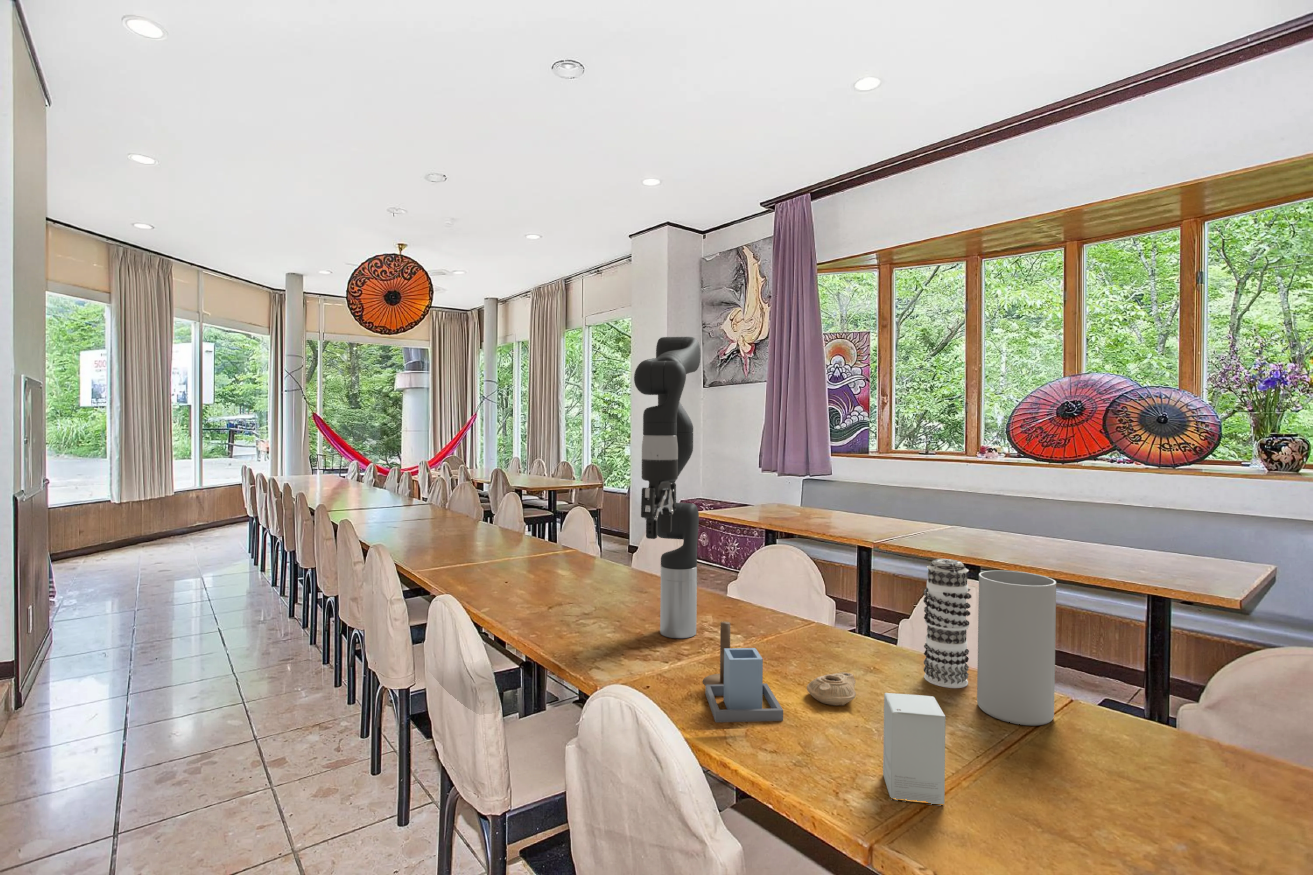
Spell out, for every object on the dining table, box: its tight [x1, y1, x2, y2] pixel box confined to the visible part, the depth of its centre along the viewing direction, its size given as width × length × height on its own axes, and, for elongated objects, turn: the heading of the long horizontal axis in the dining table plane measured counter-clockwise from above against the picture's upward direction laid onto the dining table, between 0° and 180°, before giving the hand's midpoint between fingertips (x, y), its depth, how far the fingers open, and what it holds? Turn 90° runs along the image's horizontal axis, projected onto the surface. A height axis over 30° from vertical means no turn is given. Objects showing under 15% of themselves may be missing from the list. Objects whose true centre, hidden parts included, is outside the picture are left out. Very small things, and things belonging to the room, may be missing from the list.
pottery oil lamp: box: [806, 671, 857, 707], centre depth 124 cm, size 9×12×7 cm
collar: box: [723, 647, 764, 710], centre depth 119 cm, size 6×6×10 cm
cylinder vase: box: [976, 570, 1057, 727], centre depth 120 cm, size 12×12×25 cm
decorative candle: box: [923, 558, 972, 689], centre depth 135 cm, size 9×9×25 cm
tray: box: [704, 682, 784, 723], centre depth 119 cm, size 12×12×3 cm
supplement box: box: [882, 692, 946, 805], centre depth 94 cm, size 7×7×13 cm
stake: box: [702, 621, 731, 687], centre depth 131 cm, size 9×9×13 cm
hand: (659, 535), depth 135 cm, fingers open, 8 cm apart
